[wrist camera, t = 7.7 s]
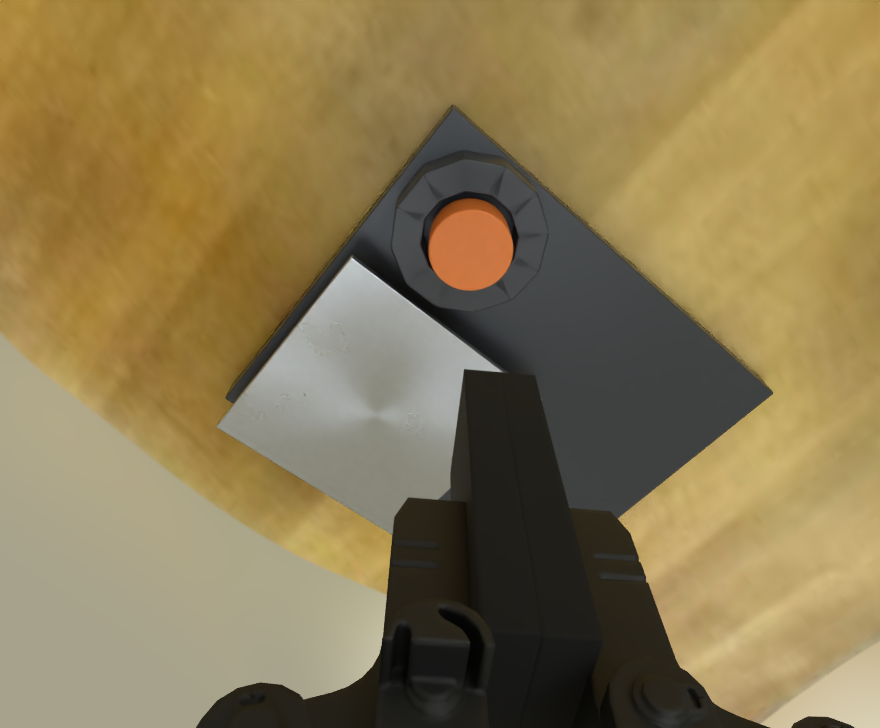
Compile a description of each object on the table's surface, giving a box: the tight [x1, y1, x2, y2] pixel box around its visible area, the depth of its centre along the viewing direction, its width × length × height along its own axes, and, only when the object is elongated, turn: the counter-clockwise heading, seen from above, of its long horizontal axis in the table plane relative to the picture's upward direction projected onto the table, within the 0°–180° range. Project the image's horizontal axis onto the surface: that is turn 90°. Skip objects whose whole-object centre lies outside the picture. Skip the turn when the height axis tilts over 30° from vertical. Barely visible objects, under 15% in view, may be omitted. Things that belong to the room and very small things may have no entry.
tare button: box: [428, 198, 513, 291], centre depth 25 cm, size 3×3×2 cm
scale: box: [226, 105, 773, 518], centre depth 31 cm, size 20×17×3 cm
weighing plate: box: [216, 255, 508, 535], centre depth 29 cm, size 10×10×1 cm
